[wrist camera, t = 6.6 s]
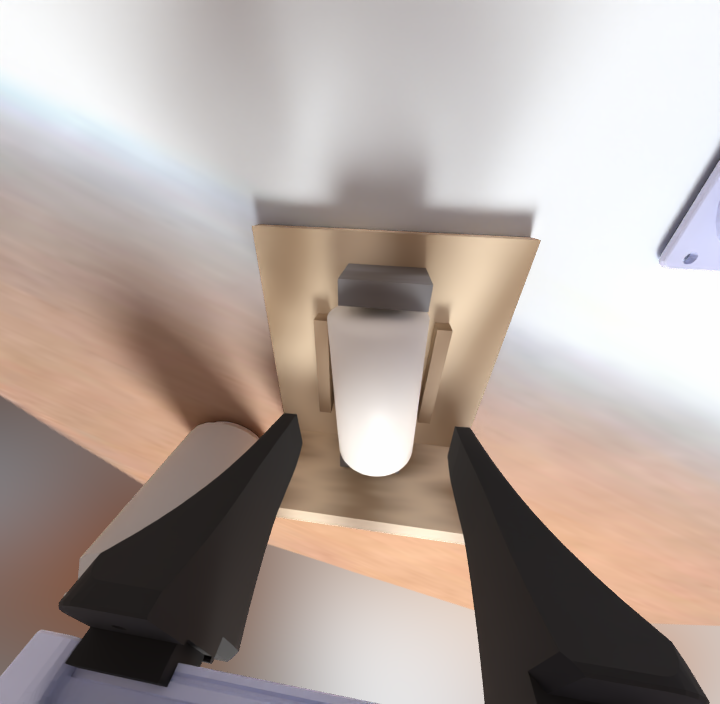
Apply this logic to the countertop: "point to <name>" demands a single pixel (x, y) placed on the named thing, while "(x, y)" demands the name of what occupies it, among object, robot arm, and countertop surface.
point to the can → (176, 481)
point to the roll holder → (440, 371)
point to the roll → (376, 384)
